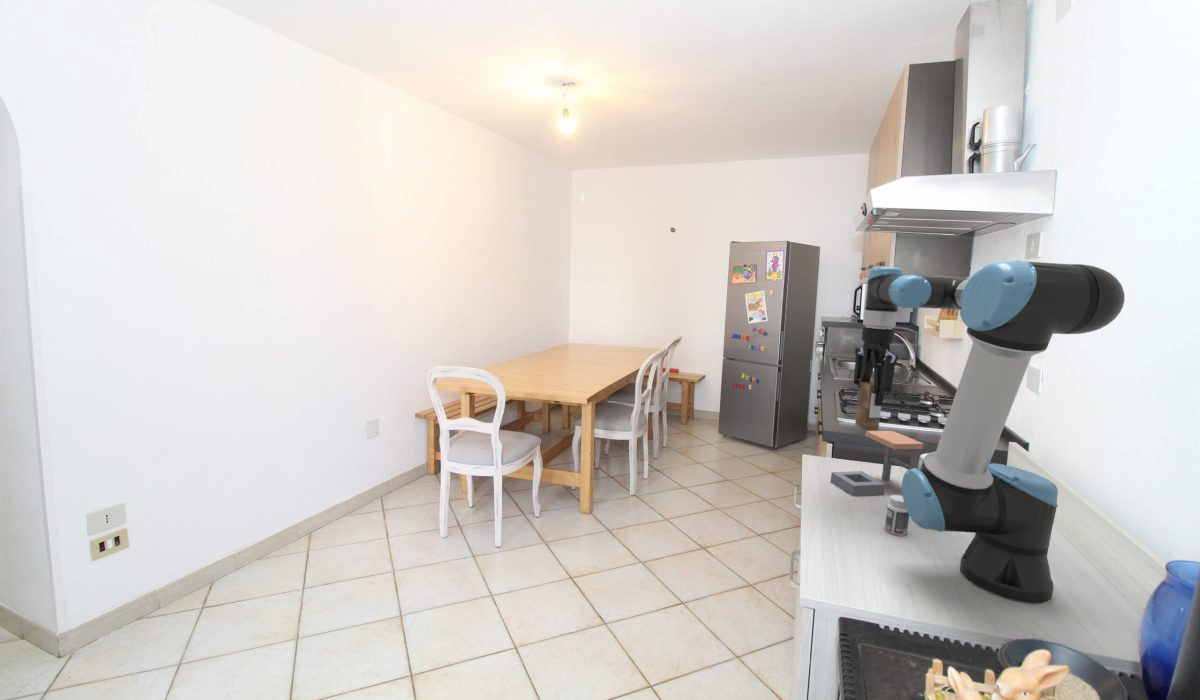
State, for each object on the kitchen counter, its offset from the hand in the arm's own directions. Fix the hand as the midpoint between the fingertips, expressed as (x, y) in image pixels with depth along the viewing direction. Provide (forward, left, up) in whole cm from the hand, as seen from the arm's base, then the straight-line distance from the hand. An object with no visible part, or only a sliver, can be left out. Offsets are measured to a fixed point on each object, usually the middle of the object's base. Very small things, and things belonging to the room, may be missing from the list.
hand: (868, 414), depth 145 cm
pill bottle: (-18, +3, -24) cm, 30 cm away
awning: (+7, -15, -24) cm, 29 cm away
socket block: (+7, -5, -24) cm, 25 cm away
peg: (0, 0, -4) cm, 4 cm away
